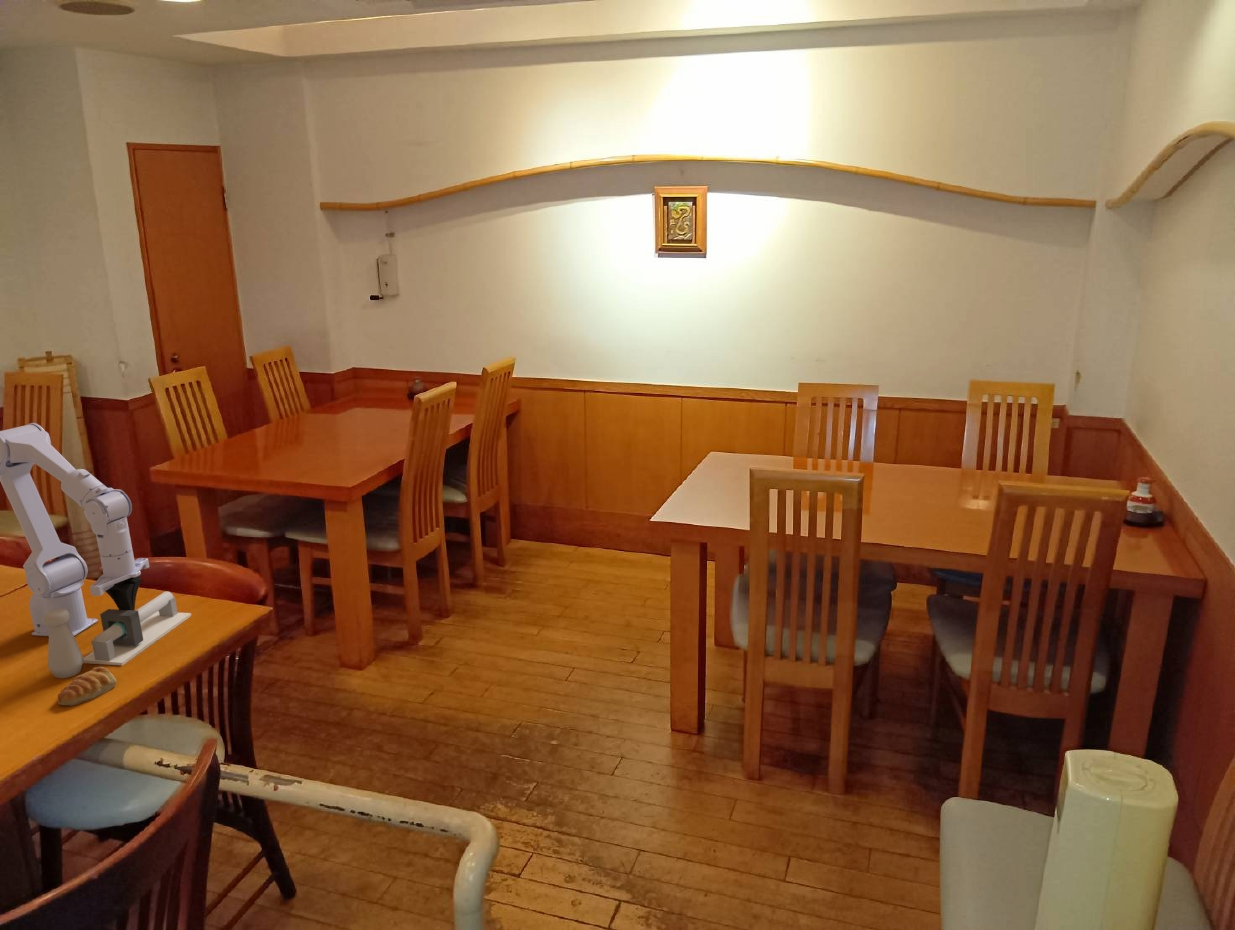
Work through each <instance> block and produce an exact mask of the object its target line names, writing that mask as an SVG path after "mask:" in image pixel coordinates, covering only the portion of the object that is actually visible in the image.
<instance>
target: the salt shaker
mask: <svg viewBox="0 0 1235 930" xmlns="http://www.w3.org/2000/svg"><path fill="white" fill-rule="evenodd" d="M43 621H44V624H45V626H48V627H49V636H48V652H47V653H48V654H47V655H48V656H47V667H48V669H49V671H50V672H51V673H52V674H53V676H54V677H56V678H57V679H63V680H64V679H67V678H71V677H76V676H77V675H78V674H79V673H80V672H82V667H83V664H84V663H83V661H84V656H83V654H82V652H81V649H80V647H79V645H78V643H77V640H76V638H75V636H74V635H73V633H72V631H71V628H70V626H69V624H68V622H69V621H70V614H69V611H68V610H66V609H54V610H51V611H49V612H47V613H46V614H45V615H44V616H43Z"/></svg>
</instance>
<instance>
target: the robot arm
mask: <svg viewBox="0 0 1235 930" xmlns="http://www.w3.org/2000/svg"><path fill="white" fill-rule="evenodd" d="M34 465H36V466H38V467H39V468H41V469H42V470H44V471H46V472H47V473H48V474H49V475H51V476H52V477H54V478H55V479H57V480H58V481H60V482H61V484H60V489H61V491H62V492H63V493H64V494H66V496H68V497H69V498H70V499H72V501H74V502H75V503H77V504H78V505H79V506H80V507H81V508H82V509H84V510H83V514H84V516H85V518H86V520H87V522H88V523H89V525H90V529H91V531H92V533H93V534H94V535H95V537H96V542H97V546H98V547H97V548H98V553H99V558H100V563H101V567H102V572H103V574H101V575H100V577H98V579H97V580H96V581H95V582H94V583H92V584H91V585H90V586H89V591H90V594H91V596H98V597H100V596H102V595H104V593H106V594H107V595H108V596H109V597H110V598H111V600H112V601H113V602H114V603H115V605H116V607H117V610H134V611H135V607H136V601H137V600H136V599H137V593H138V591H139V588H140V585H141V583H142V578H141V575H142V572H141V570H143V569H144V570H146V569H148V568H150V562H149V558H146V557H139V558H137V559H135V557H134V551H133V547H132V539H131V535H130V527H129V524H128V517H129V516H130V515H131V514H132V512H133V506H132V501H131V499H130V497H129V496H128V494H126V492H124V491H123V490H122V489H119V488H118V489H117V488H116V489H114V488H113V487H107V486H106V485H105V484H104V483H102V482H101V481H100V480H99V479H97V477H95V476H94V475H93V474H92V473H90V472H89V471H88V470H86V469H83V468H78V469H76V468H75V466H73V464H71V463H70V462H69V461H68V460H67V459H66V458H65V457H64V456H63V455H62V454H61V453H60V452H59V451H58V450H57V449H56V448H55V447H54V446H53V445H52V441H51V437H50V434H49V432H48V431H45V429H44V428H43V427H42V426H41V425H40V424H39V423H35V422H31V423H28V424H25V425H21V426H18V427H12V428H9V429H3V430H0V483H1V486H2V488H3V491H4V492H5V494H6V497H7V499H8V501H9V503H10V506H11V508H12V511H13V512H14V514H15V517H16V519H17V521H18V523H19V526H20V527H21V531H22V532H23V535H24V536H25V538H26V541H27V543H28V545H29V546H28V547H30V550H31V553H30V554H29V555H28V558H27V559H26V560H25V562H24V564H23V566H22V568H23V570H24V573H25V576H26V577H25V578H26V579H25V580H26V583H27V586H28V589H29V590H30V591H31V592H32V593H33V594H31V596H30V600H29V604H28V605H29V606H28V607H29V611H30V615H31V619H32V623H33V624H32V625H33V629H34V631H33V632H31V635H32V636H38V637H39V636H40V637H49V627H48V626H45V624H44V621H43V616H44V615H45V614H46V613H47V612H49V611H51V610H54V609H66V610H68V611H69V614H70V621H69V622H68V624H69V626H70V628H71V631H72V633H73V635H74V637H75V636H77V635H78V634H80V633H81V632H83V631H84V630H86V629H88V628H89V627H91V626H93V625H94V624H95V623H98V621H99V619H97V618H91V617H90V618H89V617H88V616H87V611H86V610H87V609H86V607H85V602H84V601H85V599H84V597H83V591H82V590H83V589H82V586H84V585H85V584H84V581H85V579H87V576H88V565H87V563H86V561H85V560H84V558H82V556H81V555H80V553H78V550H77V548H76V546H73V545H71V544H67V543H64V542H62V541H61V540H60V538H59V536H58V534H57V531H56V530H55V526H54V525H53V522H52V520H51V517H50V516H49V513H48V511H47V508H46V506H45V505H44V503H43V500H42V498H41V495H40V493H39V491H38V489H37V486H36V484H35V481H34V480H33V478H32V475H31V470H32V468H33V466H34ZM55 558H57V559H55ZM53 559H54V560H53ZM48 561H50V562H48Z"/></svg>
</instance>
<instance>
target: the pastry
mask: <svg viewBox="0 0 1235 930" xmlns="http://www.w3.org/2000/svg"><path fill="white" fill-rule="evenodd" d="M72 679H73V680H72V681H70V683H69V684H67V685H66V686H65V687H64V688H63V689H62V690H61V691H60V692H59V693H58V695H57V704H58V705H60V706H76V705H79V704H81V703H84V702H87V701H91V700H93V699H96V698H97V697H99V696H101V695H103V694H105V693H107V692H109V691H111V690H112V689H113V688H115V686H116V685H117V682H118V681H117V679H116V678H115V675H113V673H111V672H110V669H108V668H106V667H104V666H98V667H93V668H92V669H91V670H89V671H86V672H84V673H81V674H79V675H76V676H74V678H72Z"/></svg>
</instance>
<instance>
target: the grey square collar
mask: <svg viewBox="0 0 1235 930" xmlns="http://www.w3.org/2000/svg"><path fill="white" fill-rule="evenodd" d="M99 617H100V621H101V627H102V632H104V631H105V630H107V629H108V628H110V627H111V626H112V625H113V624H115V623H116V622H125V626H126V631H127V633H126V634H124V635H123V636H121V637H118V638H117V639H116V640H114V641H113V644H115V645H131V646H136V645H137V644H139V643H140V642H142V641H143V635H142V630H141V624H140V619H139V613H138V611H136V610H135V609H134V610H119V609H118V608H117V609H116V608H115V609H114V608H107V609H105V611H103V612H101V613H100V614H99Z"/></svg>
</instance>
